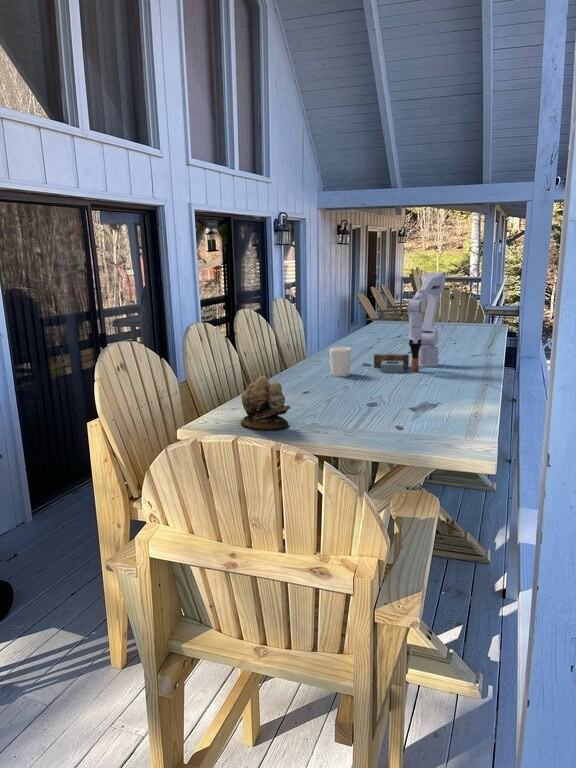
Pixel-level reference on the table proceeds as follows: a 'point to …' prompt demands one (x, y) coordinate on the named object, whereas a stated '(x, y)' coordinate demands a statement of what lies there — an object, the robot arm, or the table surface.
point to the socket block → (392, 366)
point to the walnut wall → (380, 357)
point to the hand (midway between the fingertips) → (415, 356)
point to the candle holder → (340, 361)
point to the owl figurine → (264, 406)
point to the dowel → (414, 364)
